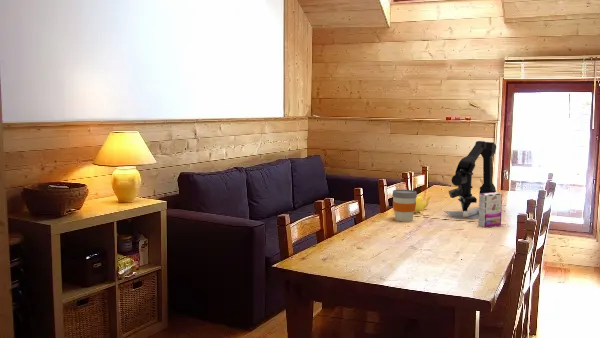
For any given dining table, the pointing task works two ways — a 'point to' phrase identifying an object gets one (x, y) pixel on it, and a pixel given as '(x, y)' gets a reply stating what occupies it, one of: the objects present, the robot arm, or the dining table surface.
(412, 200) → the reusable coffee cup
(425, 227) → the dining table surface
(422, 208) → the teapot
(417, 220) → the dining table surface
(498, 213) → the candy bar box
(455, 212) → the dial plate
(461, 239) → the dining table surface
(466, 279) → the dining table surface
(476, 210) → the dial lever
